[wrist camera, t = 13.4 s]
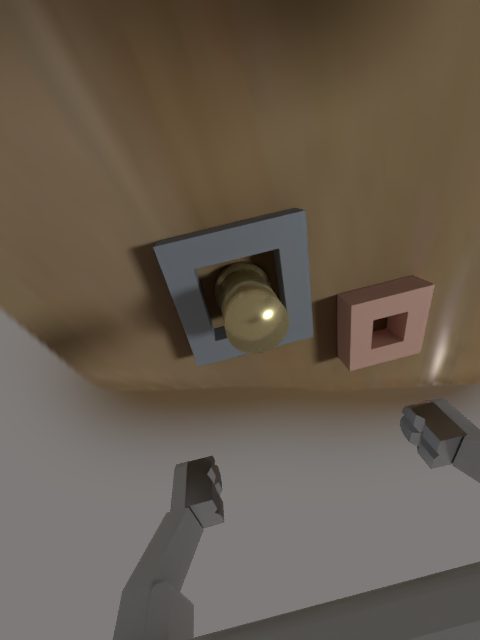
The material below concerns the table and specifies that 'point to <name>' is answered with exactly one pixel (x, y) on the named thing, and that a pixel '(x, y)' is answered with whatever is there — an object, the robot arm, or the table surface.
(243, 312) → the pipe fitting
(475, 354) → the table surface
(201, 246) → the socket block
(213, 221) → the table surface
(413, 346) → the small socket
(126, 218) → the table surface
